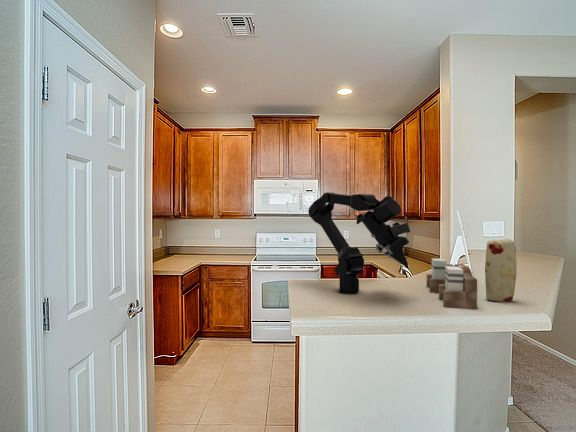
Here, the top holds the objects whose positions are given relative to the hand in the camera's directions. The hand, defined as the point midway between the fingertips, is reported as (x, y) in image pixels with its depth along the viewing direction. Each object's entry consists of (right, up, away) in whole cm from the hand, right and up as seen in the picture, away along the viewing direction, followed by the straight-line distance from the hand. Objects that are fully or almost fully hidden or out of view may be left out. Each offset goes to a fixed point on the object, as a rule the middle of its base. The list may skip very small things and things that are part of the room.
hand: (406, 265), depth 108 cm
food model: (+29, -11, -2) cm, 31 cm away
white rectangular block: (+13, -11, -6) cm, 18 cm away
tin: (+27, -11, +16) cm, 34 cm away
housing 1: (+17, -11, +11) cm, 23 cm away
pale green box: (+16, -11, +11) cm, 22 cm away
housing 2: (+13, -11, -6) cm, 18 cm away
